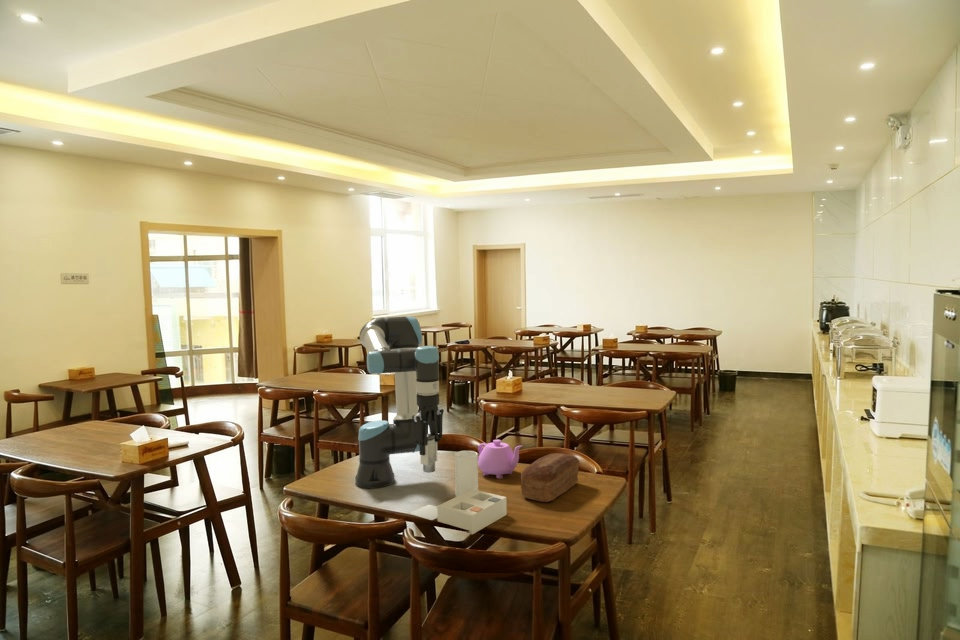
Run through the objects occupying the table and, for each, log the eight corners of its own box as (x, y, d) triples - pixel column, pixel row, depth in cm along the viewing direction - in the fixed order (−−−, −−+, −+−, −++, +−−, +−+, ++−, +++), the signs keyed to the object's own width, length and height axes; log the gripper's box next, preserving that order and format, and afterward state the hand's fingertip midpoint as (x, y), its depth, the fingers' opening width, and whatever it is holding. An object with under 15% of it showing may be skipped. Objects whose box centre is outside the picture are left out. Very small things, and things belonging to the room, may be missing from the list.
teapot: (533, 474, 245) (532, 440, 244) (511, 484, 233) (510, 449, 232) (489, 464, 259) (488, 432, 258) (466, 474, 246) (465, 440, 245)
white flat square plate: (409, 516, 203) (409, 513, 203) (429, 507, 211) (429, 504, 211) (431, 523, 197) (431, 520, 197) (451, 513, 205) (451, 510, 205)
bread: (583, 483, 234) (583, 452, 233) (550, 507, 210) (550, 472, 209) (551, 477, 241) (551, 446, 240) (515, 499, 218) (515, 465, 217)
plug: (420, 471, 203) (419, 435, 202) (428, 467, 207) (428, 433, 206) (429, 473, 201) (429, 437, 200) (438, 470, 204) (437, 434, 203)
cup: (470, 502, 215) (469, 458, 214) (451, 498, 219) (450, 455, 218) (482, 495, 222) (481, 452, 221) (463, 491, 226) (462, 449, 225)
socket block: (437, 524, 197) (437, 505, 196) (473, 505, 212) (472, 488, 211) (472, 534, 188) (471, 514, 188) (506, 514, 203) (506, 496, 203)
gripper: (418, 399, 192) (420, 471, 194) (452, 390, 206) (453, 457, 208) (401, 396, 197) (403, 467, 199) (435, 387, 210) (437, 454, 212)
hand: (429, 462), depth 203 cm, fingers closed on plug, 4 cm apart
